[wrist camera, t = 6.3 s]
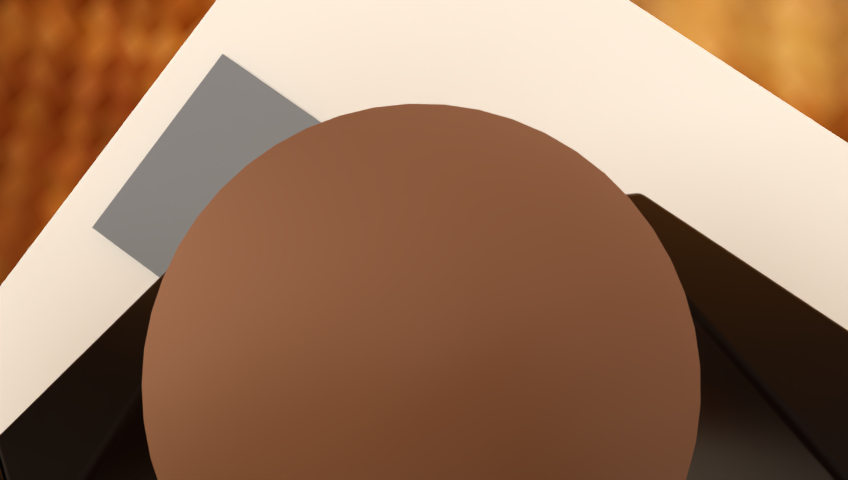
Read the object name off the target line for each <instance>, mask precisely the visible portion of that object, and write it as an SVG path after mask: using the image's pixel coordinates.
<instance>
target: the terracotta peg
mask: <svg viewBox="0 0 848 480" xmlns="http://www.w3.org/2000/svg"><path fill="white" fill-rule="evenodd" d="M142 401H143V418H144V426H145V431H146V437H147V442H148V447H149V453H150V458H151V461H152V464H153V467H154V470H155V473H156V476H157V480H686V478H687V474H688V470H689V467H690V463H691V459H692V455H693V451H694V447H695V444H696V437H697V429H698V421H699V413H700V405H701V394H700V361H699V354H698V347H697V340H696V333H695V327H694V324H693V320H692V317H691V313H690V309H689V306H688V302H687V298H686V295H685V292H684V290H683V287H682V285H681V282H680V280H679V278H678V275H677V273H676V271H675V268H674V266H673V263H672V261H671V259H670V257H669V255H668V254H667V252H666V250H665V249H664V247H663V245H662V243H661V242H660V240H659V238H658V237H657V235H656V233H655V231H654V230H653V228H652V227H651V225H650V224H649V223H648V221H647V220H646V219H645V218H644V216H643V215H642V214H641V212H640V211H639V210H638V208H637V207H636V206H635V205H634V203H633V202H632V201H631V199H630V198H629V197H628V196H627V195H626V194H625V193H624V192H623V191H622V190H621V189H620V188H619V187H618V186H617V185H616V184H615V183H614V182H613V181H612V180H611V179H610V178H609V177H608V176H607V175H606V174H605V173H604V172H602V171H601V170H600V169H598V168H597V167H596V166H595V165H593V164H592V163H591V162H589V161H588V160H587V159H586V158H584V157H583V156H582V155H580V154H579V153H578V152H577V151H575V150H573V149H572V148H570V147H568V146H566V145H565V144H563V143H561V142H560V141H558V140H556V139H555V138H553V137H551V136H549V135H548V134H546V133H544V132H542V131H539V130H537V129H534V128H532V127H530V126H527V125H525V124H523V123H520V122H518V121H516V120H513V119H510V118H507V117H503V116H500V115H496V114H492V113H489V112H485V111H482V110H478V109H471V108H465V107H458V106H451V105H444V104H402V105H392V106H383V107H374V108H370V109H365V110H361V111H357V112H353V113H349V114H345V115H340V116H338V117H335V118H332V119H330V120H327V121H324V122H322V123H319V124H316V125H314V126H311V127H309V128H306V129H304V130H302V131H300V132H299V133H297V134H295V135H293V136H291V137H289V138H287V139H285V140H284V141H282V142H280V143H278V144H276V145H275V146H273V147H272V148H270V149H269V150H268V151H266V152H265V153H263V154H262V155H260V156H259V157H258V158H256V159H255V160H253V161H252V162H251V163H249V164H248V165H246V166H245V167H244V168H243V169H242V170H241V171H240V172H239V173H238V174H237V175H236V176H234V177H233V178H232V179H231V180H230V181H229V182H228V183H227V184H226V185H225V186H224V187H223V188H221V189H220V191H219V192H218V193H217V194H216V195H215V197H214V198H213V199H212V200H211V201H210V202H209V204H208V205H207V206H206V207H205V208H204V210H203V211H202V212H201V213H200V214H199V215H198V217H197V218H196V220H195V221H194V223H193V224H192V226H191V228H190V229H189V231H188V232H187V234H186V235H185V237H184V238H183V240H182V241H181V243H180V244H179V246H178V248H177V250H176V252H175V254H174V256H173V258H172V260H171V263H170V265H169V267H168V269H167V271H166V273H165V275H164V277H163V279H162V282H161V285H160V288H159V291H158V294H157V297H156V300H155V303H154V306H153V309H152V312H151V317H150V322H149V327H148V332H147V337H146V342H145V347H144V358H143V372H142Z"/></svg>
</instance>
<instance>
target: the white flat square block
mask: <svg viewBox="0 0 848 480" xmlns="http://www.w3.org/2000/svg"><path fill="white" fill-rule="evenodd" d="M402 104H444V105H451V106H458V107H465V108H471V109H478V110H482V111H485V112H489V113H492V114H496V115H500V116H503V117H507V118H510V119H513V120H516V121H518V122H520V123H523V124H525V125H527V126H530V127H532V128H534V129H537V130H539V131H542V132H544V133H546V134H548V135H549V136H551V137H553V138H555V139H556V140H558V141H560V142H561V143H563V144H565V145H566V146H568V147H570V148H572V149H573V150H575V151H577V152H578V153H579V154H580V155H582V156H583V157H584V158H586V159H587V160H588V161H589V162H591V163H592V164H593V165H595V166H596V167H597V168H598V169H600V170H601V171H602V172H604V173H605V174H606V175H607V176H608V177H609V178H610V179H611V180H612V181H613V182H614V183H615V184H616V185H617V186H618V187H619V188H620V189H621V190H622V191H623V192H624V193H625V194H632V193H641V194H643V195H645V196H647V197H648V198H650V199H651V200H653V201H654V202H656V203H657V204H659V205H660V206H662V207H663V208H665V209H666V210H668V211H669V212H671V213H672V214H674V215H675V216H677V217H678V218H680V219H681V220H683V221H684V222H686V223H687V224H689V225H690V226H692V227H693V228H695V229H696V230H698V231H699V232H701V233H702V234H704V235H705V236H707V237H708V238H710V239H711V240H713V241H714V242H716V243H717V244H719V245H720V246H722V247H723V248H725V249H726V250H728V251H729V252H731V253H732V254H734V255H735V256H737V257H738V258H740V259H741V260H743V261H744V262H746V263H747V264H749V265H750V266H752V267H753V268H755V269H756V270H758V271H759V272H761V273H762V274H764V275H765V276H767V277H768V278H770V279H771V280H773V281H774V282H776V283H777V284H779V285H780V286H782V287H784V288H785V289H787V290H788V291H790V292H791V293H793V294H794V295H796V296H797V297H799V298H800V299H802V300H803V301H805V302H806V303H808V304H809V305H811V306H812V307H814V308H815V309H817V310H818V311H820V312H821V313H823V314H824V315H826V316H827V317H829V318H830V319H832V320H833V321H835V322H836V323H838V324H839V325H841V326H842V327H844V328H845V329H847V330H848V143H847V142H845V141H844V140H842V139H841V138H839V137H838V136H836V135H835V134H833V133H832V132H830V131H828V130H827V129H825V128H824V127H822V126H821V125H819V124H818V123H816V122H815V121H813V120H812V119H810V118H809V117H807V116H805V115H804V114H802V113H801V112H799V111H798V110H796V109H795V108H793V107H792V106H790V105H789V104H787V103H786V102H784V101H782V100H781V99H779V98H778V97H776V96H775V95H773V94H772V93H770V92H769V91H767V90H766V89H764V88H763V87H761V86H759V85H758V84H756V83H755V82H753V81H752V80H750V79H749V78H747V77H746V76H744V75H743V74H741V73H740V72H738V71H736V70H735V69H733V68H732V67H730V66H729V65H727V64H726V63H724V62H723V61H721V60H720V59H718V58H716V57H715V56H713V55H712V54H710V53H709V52H707V51H706V50H704V49H703V48H701V47H700V46H698V45H697V44H695V43H693V42H692V41H690V40H689V39H687V38H686V37H684V36H683V35H681V34H680V33H678V32H677V31H675V30H674V29H672V28H670V27H669V26H667V25H666V24H664V23H663V22H661V21H660V20H658V19H657V18H655V17H654V16H652V15H651V14H649V13H647V12H646V11H644V10H643V9H641V8H640V7H638V6H637V5H635V4H634V3H632V2H631V1H629V0H216V2H215V3H214V4H213V6H212V7H211V8H210V10H209V11H208V12H207V14H206V15H205V16H204V18H203V19H202V20H201V22H200V23H199V24H198V25H197V27H196V28H195V29H194V31H193V32H192V33H191V35H190V36H189V37H188V39H187V40H186V41H185V43H184V44H183V45H182V47H181V48H180V49H179V51H178V52H177V53H176V55H175V56H174V57H173V59H172V60H171V61H170V63H169V64H168V65H167V67H166V68H165V69H164V70H163V72H162V73H161V74H160V76H159V77H158V78H157V80H156V81H155V82H154V84H153V85H152V86H151V88H150V89H149V90H148V92H147V93H146V94H145V96H144V97H143V98H142V100H141V101H140V102H139V104H138V105H137V106H136V108H135V109H134V110H133V111H132V113H131V114H130V115H129V117H128V118H127V119H126V121H125V122H124V123H123V125H122V126H121V127H120V129H119V130H118V131H117V133H116V134H115V135H114V137H113V138H112V139H111V141H110V142H109V143H108V145H107V146H106V147H105V149H104V150H103V151H102V152H101V154H100V155H99V156H98V158H97V159H96V160H95V162H94V163H93V164H92V166H91V167H90V168H89V170H88V171H87V172H86V174H85V175H84V176H83V178H82V179H81V180H80V182H79V183H78V184H77V186H76V187H75V188H74V190H73V191H72V192H71V194H70V195H69V196H68V197H67V199H66V200H65V201H64V203H63V204H62V205H61V207H60V208H59V209H58V211H57V212H56V213H55V215H54V216H53V217H52V219H51V220H50V221H49V223H48V224H47V225H46V227H45V228H44V229H43V231H42V232H41V233H40V235H39V236H38V237H37V238H36V240H35V241H34V242H33V244H32V245H31V246H30V248H29V249H28V250H27V252H26V253H25V254H24V256H23V257H22V258H21V260H20V261H19V262H18V264H17V265H16V266H15V268H14V269H13V270H12V272H11V273H10V274H9V276H8V277H7V278H6V280H5V281H4V282H3V283H2V285H1V286H0V434H1V433H2V432H3V431H4V430H5V429H6V428H7V427H8V426H10V425H11V424H12V423H13V422H14V421H15V420H16V419H17V418H18V417H19V416H20V415H21V414H22V413H23V412H24V411H25V410H26V409H27V408H28V407H29V406H30V405H31V404H32V403H33V402H34V401H35V400H36V399H37V398H38V397H39V396H40V395H41V394H42V393H43V392H44V391H45V390H46V389H47V388H48V387H49V386H50V385H51V384H52V383H53V382H54V381H55V380H56V379H57V378H58V377H59V376H60V375H61V374H62V373H63V372H64V371H65V370H66V369H67V368H68V367H69V366H70V365H71V364H72V363H73V362H74V361H75V360H76V359H77V358H78V357H79V356H81V355H82V354H83V353H84V352H85V351H86V350H87V349H88V348H89V347H90V346H91V345H92V344H93V343H94V342H95V341H96V340H97V339H98V338H99V337H100V336H101V335H102V334H103V333H104V332H105V331H106V330H107V329H108V328H109V327H110V326H111V325H112V324H113V323H114V322H115V321H116V320H117V319H118V318H119V317H120V316H121V315H122V314H123V313H124V312H125V311H126V310H127V309H128V308H129V307H130V306H131V305H132V304H133V303H134V302H135V301H136V300H137V299H138V298H139V297H140V296H141V295H142V294H143V293H144V292H145V291H146V290H147V289H148V288H149V287H150V286H152V285H153V284H154V283H155V282H156V281H157V280H158V279H159V278H160V277H161V276H162V275H163V274H164V273H165V272H166V271H167V269H168V267H169V265H170V263H171V260H172V258H173V256H174V254H175V252H176V250H177V248H178V246H179V244H180V243H181V241H182V240H183V238H184V237H185V235H186V234H187V232H188V231H189V229H190V228H191V226H192V224H193V223H194V221H195V220H196V218H197V217H198V215H199V214H200V213H201V212H202V211H203V210H204V208H205V207H206V206H207V205H208V204H209V202H210V201H211V200H212V199H213V198H214V197H215V195H216V194H217V193H218V192H219V191H220V189H221V188H223V187H224V186H225V185H226V184H227V183H228V182H229V181H230V180H231V179H232V178H233V177H234V176H236V175H237V174H238V173H239V172H240V171H241V170H242V169H243V168H244V167H245V166H246V165H248V164H249V163H251V162H252V161H253V160H255V159H256V158H258V157H259V156H260V155H262V154H263V153H265V152H266V151H268V150H269V149H270V148H272V147H273V146H275V145H276V144H278V143H280V142H282V141H284V140H285V139H287V138H289V137H291V136H293V135H295V134H297V133H299V132H300V131H302V130H304V129H306V128H309V127H311V126H314V125H316V124H319V123H322V122H324V121H327V120H330V119H332V118H335V117H338V116H340V115H345V114H349V113H353V112H357V111H361V110H365V109H370V108H374V107H383V106H392V105H402Z"/></svg>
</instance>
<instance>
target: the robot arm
mask: <svg viewBox="0 0 848 480" xmlns="http://www.w3.org/2000/svg"><path fill="white" fill-rule="evenodd" d="M626 195H627V196H628V197H629V198H630V199H631V201H632V202H633V203H634V205H635V206H636V207H637V208H638V210H639V211H640V212H641V214H642V215H643V216H644V218H645V219H646V220H647V221H648V223H649V224H650V225H651V227H652V228H653V230H654V231H655V233H656V235H657V237H658V238H659V240H660V242H661V243H662V245H663V247H664V249H665V250H666V252H667V254H668V255H669V257H670V259H671V261H672V263H673V266H674V268H675V271H676V273H677V275H678V278H679V280H680V282H681V285H682V287H683V290H684V292H685V295H686V298H687V302H688V306H689V309H690V313H691V317H692V320H693V324H694V327H695V333H696V340H697V347H698V354H699V361H700V394H701V405H700V413H699V421H698V429H697V437H696V444H695V447H694V451H693V455H692V459H691V463H690V467H689V470H688V474H687V478H686V480H848V330H847V329H845V328H844V327H842V326H841V325H839V324H838V323H836V322H835V321H833V320H832V319H830V318H829V317H827V316H826V315H824V314H823V313H821V312H820V311H818V310H817V309H815V308H814V307H812V306H811V305H809V304H808V303H806V302H805V301H803V300H802V299H800V298H799V297H797V296H796V295H794V294H793V293H791V292H790V291H788V290H787V289H785V288H784V287H782V286H780V285H779V284H777V283H776V282H774V281H773V280H771V279H770V278H768V277H767V276H765V275H764V274H762V273H761V272H759V271H758V270H756V269H755V268H753V267H752V266H750V265H749V264H747V263H746V262H744V261H743V260H741V259H740V258H738V257H737V256H735V255H734V254H732V253H731V252H729V251H728V250H726V249H725V248H723V247H722V246H720V245H719V244H717V243H716V242H714V241H713V240H711V239H710V238H708V237H707V236H705V235H704V234H702V233H701V232H699V231H698V230H696V229H695V228H693V227H692V226H690V225H689V224H687V223H686V222H684V221H683V220H681V219H680V218H678V217H677V216H675V215H674V214H672V213H671V212H669V211H668V210H666V209H665V208H663V207H662V206H660V205H659V204H657V203H656V202H654V201H653V200H651V199H650V198H648V197H647V196H645V195H643V194H641V193H632V194H626ZM165 273H166V272H165ZM165 273H164V274H163V275H162V276H161V277H160V278H159V279H158V280H157V281H156V282H155V283H154V284H153V285H152V286H150V287H149V288H148V289H147V290H146V291H145V292H144V293H143V294H142V295H141V296H140V297H139V298H138V299H137V300H136V301H135V302H134V303H133V304H132V305H131V306H130V307H129V308H128V309H127V310H126V311H125V312H124V313H123V314H122V315H121V316H120V317H119V318H118V319H117V320H116V321H115V322H114V323H113V324H112V325H111V326H110V327H109V328H108V329H107V330H106V331H105V332H104V333H103V334H102V335H101V336H100V337H99V338H98V339H97V340H96V341H95V342H94V343H93V344H92V345H91V346H90V347H89V348H88V349H87V350H86V351H85V352H84V353H83V354H82V355H81V356H79V357H78V358H77V359H76V360H75V361H74V362H73V363H72V364H71V365H70V366H69V367H68V368H67V369H66V370H65V371H64V372H63V373H62V374H61V375H60V376H59V377H58V378H57V379H56V380H55V381H54V382H53V383H52V384H51V385H50V386H49V387H48V388H47V389H46V390H45V391H44V392H43V393H42V394H41V395H40V396H39V397H38V398H37V399H36V400H35V401H34V402H33V403H32V404H31V405H30V406H29V407H28V408H27V409H26V410H25V411H24V412H23V413H22V414H21V415H20V416H19V417H18V418H17V419H16V420H15V421H14V422H13V423H12V424H11V425H10V426H8V427H7V428H6V429H5V430H4V431H3V432H2V433H1V434H0V480H157V476H156V473H155V470H154V467H153V464H152V461H151V458H150V453H149V447H148V442H147V437H146V431H145V426H144V418H143V401H142V372H143V358H144V347H145V342H146V337H147V332H148V327H149V322H150V317H151V312H152V309H153V306H154V303H155V300H156V297H157V294H158V291H159V288H160V285H161V282H162V279H163V277H164V275H165Z"/></svg>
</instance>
